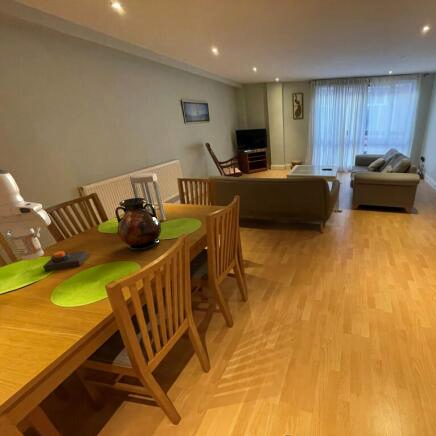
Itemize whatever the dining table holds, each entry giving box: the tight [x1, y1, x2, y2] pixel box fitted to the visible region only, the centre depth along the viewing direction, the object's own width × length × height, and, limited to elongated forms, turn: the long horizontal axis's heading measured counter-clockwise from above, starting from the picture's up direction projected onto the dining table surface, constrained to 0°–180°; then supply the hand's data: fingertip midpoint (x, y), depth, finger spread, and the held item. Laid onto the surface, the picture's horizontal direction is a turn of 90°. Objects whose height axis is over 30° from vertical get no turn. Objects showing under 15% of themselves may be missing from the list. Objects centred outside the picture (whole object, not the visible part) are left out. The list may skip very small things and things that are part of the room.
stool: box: [129, 172, 167, 221], centre depth 169 cm, size 16×16×35 cm
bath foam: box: [9, 226, 45, 261], centre depth 104 cm, size 7×7×20 cm
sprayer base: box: [43, 250, 89, 272], centre depth 124 cm, size 14×11×5 cm
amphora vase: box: [114, 197, 162, 252], centre depth 138 cm, size 22×22×28 cm
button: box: [53, 250, 65, 258], centre depth 122 cm, size 4×4×2 cm
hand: (25, 238), depth 105 cm, fingers closed on bath foam, 7 cm apart
